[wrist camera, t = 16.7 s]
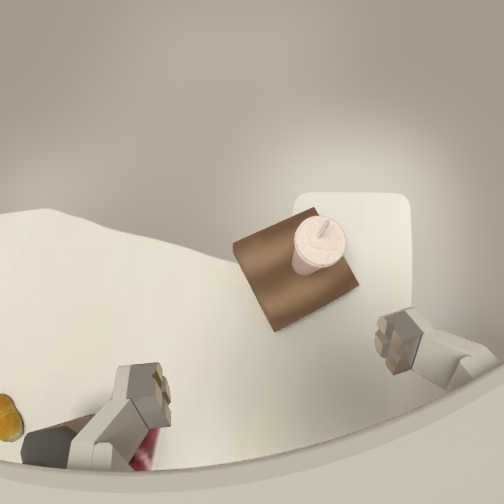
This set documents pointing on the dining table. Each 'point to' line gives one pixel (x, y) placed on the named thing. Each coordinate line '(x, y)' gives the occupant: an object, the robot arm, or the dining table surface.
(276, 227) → the plinth
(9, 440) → the bread roll
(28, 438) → the liquor
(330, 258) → the smoothie
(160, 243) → the dining table surface
